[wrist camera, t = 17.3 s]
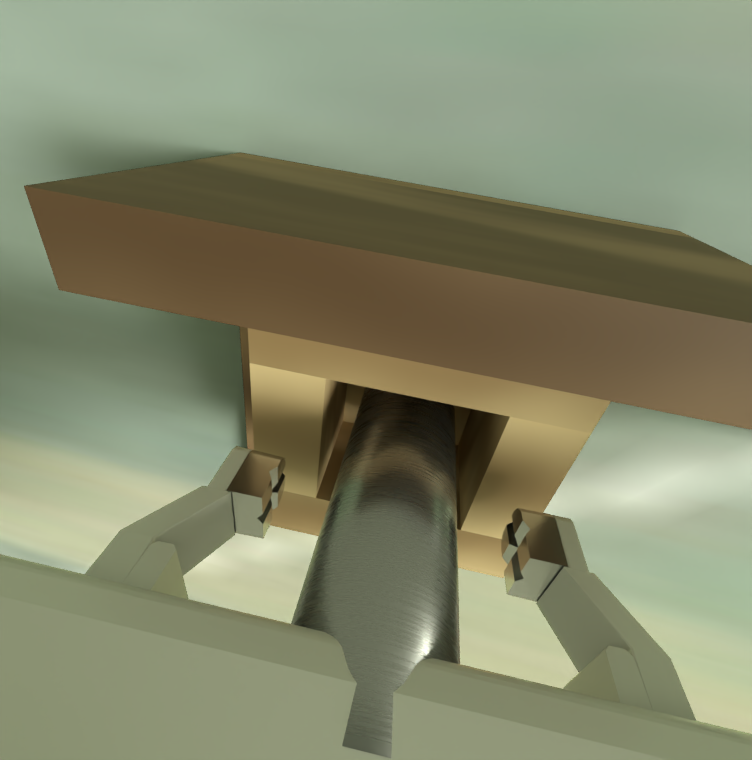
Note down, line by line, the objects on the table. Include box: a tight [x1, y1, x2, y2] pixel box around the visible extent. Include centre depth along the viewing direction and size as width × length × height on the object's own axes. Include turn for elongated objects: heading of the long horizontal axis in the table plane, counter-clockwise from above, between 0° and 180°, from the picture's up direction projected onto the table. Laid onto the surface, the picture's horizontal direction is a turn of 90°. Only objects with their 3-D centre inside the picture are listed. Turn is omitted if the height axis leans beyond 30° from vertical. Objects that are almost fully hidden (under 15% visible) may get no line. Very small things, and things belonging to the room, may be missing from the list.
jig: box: [24, 153, 752, 576], centre depth 16 cm, size 21×16×9 cm
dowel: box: [291, 387, 460, 758], centre depth 12 cm, size 4×4×12 cm
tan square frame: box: [248, 328, 611, 578], centre depth 15 cm, size 10×10×6 cm
